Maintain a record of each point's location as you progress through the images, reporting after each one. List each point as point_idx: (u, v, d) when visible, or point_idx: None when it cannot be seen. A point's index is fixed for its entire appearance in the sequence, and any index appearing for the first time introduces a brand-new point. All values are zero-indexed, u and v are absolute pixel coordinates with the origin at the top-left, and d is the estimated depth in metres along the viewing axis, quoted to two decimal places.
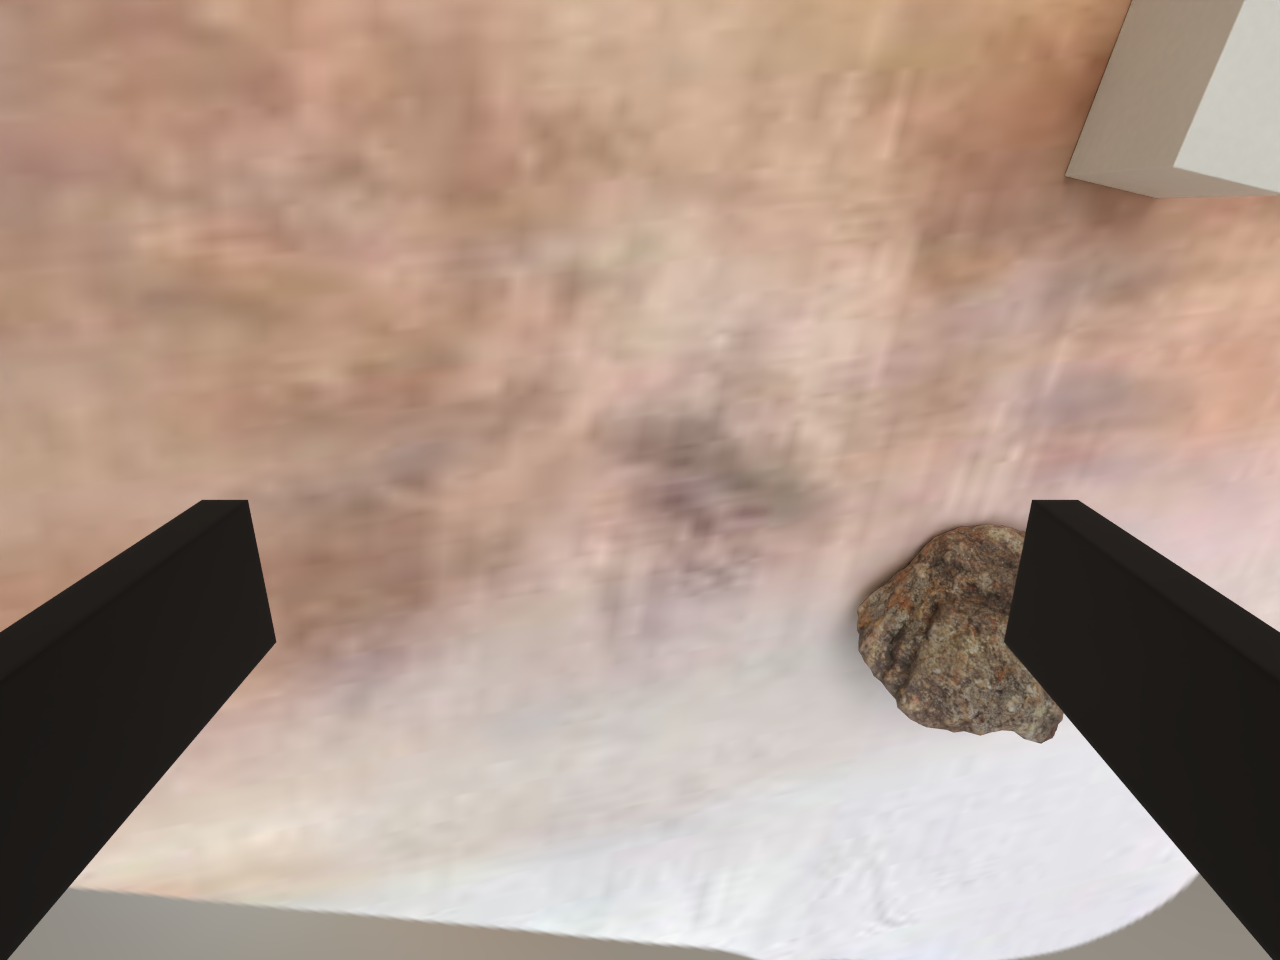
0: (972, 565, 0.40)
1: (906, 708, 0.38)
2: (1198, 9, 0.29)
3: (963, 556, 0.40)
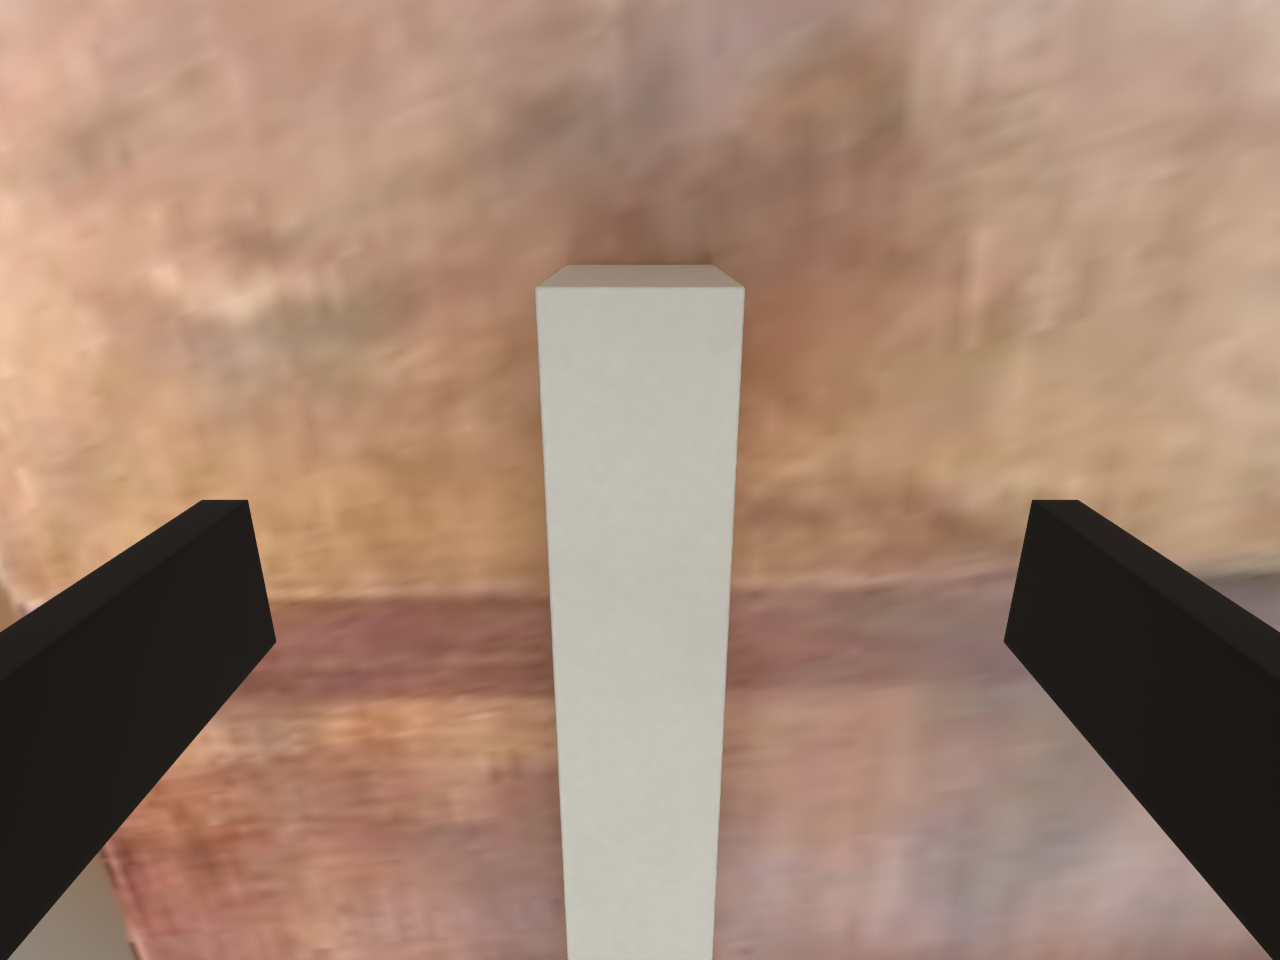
0: None
1: None
2: None
3: None
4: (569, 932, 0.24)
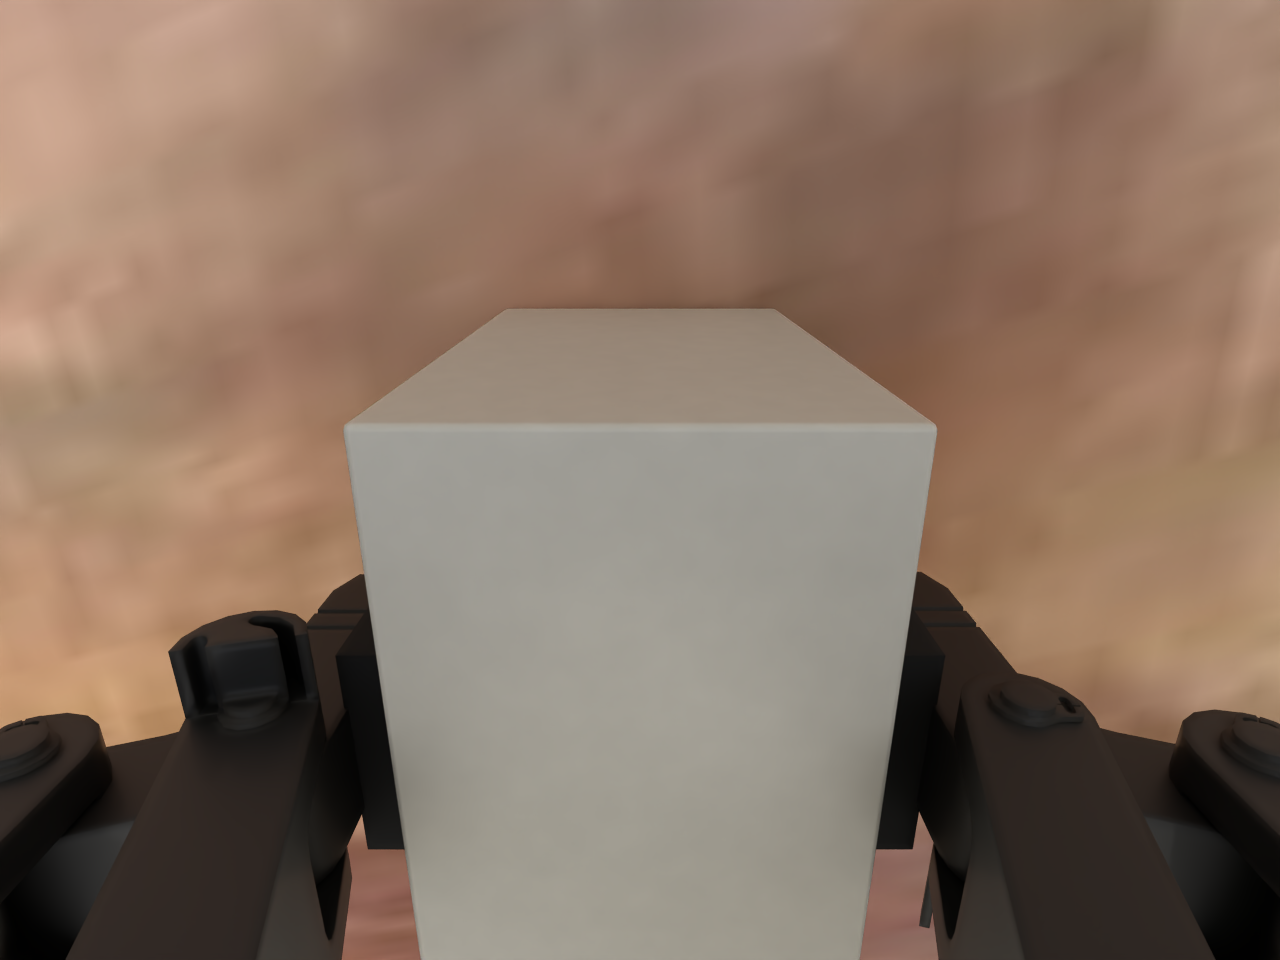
0: None
1: None
2: None
3: None
4: None
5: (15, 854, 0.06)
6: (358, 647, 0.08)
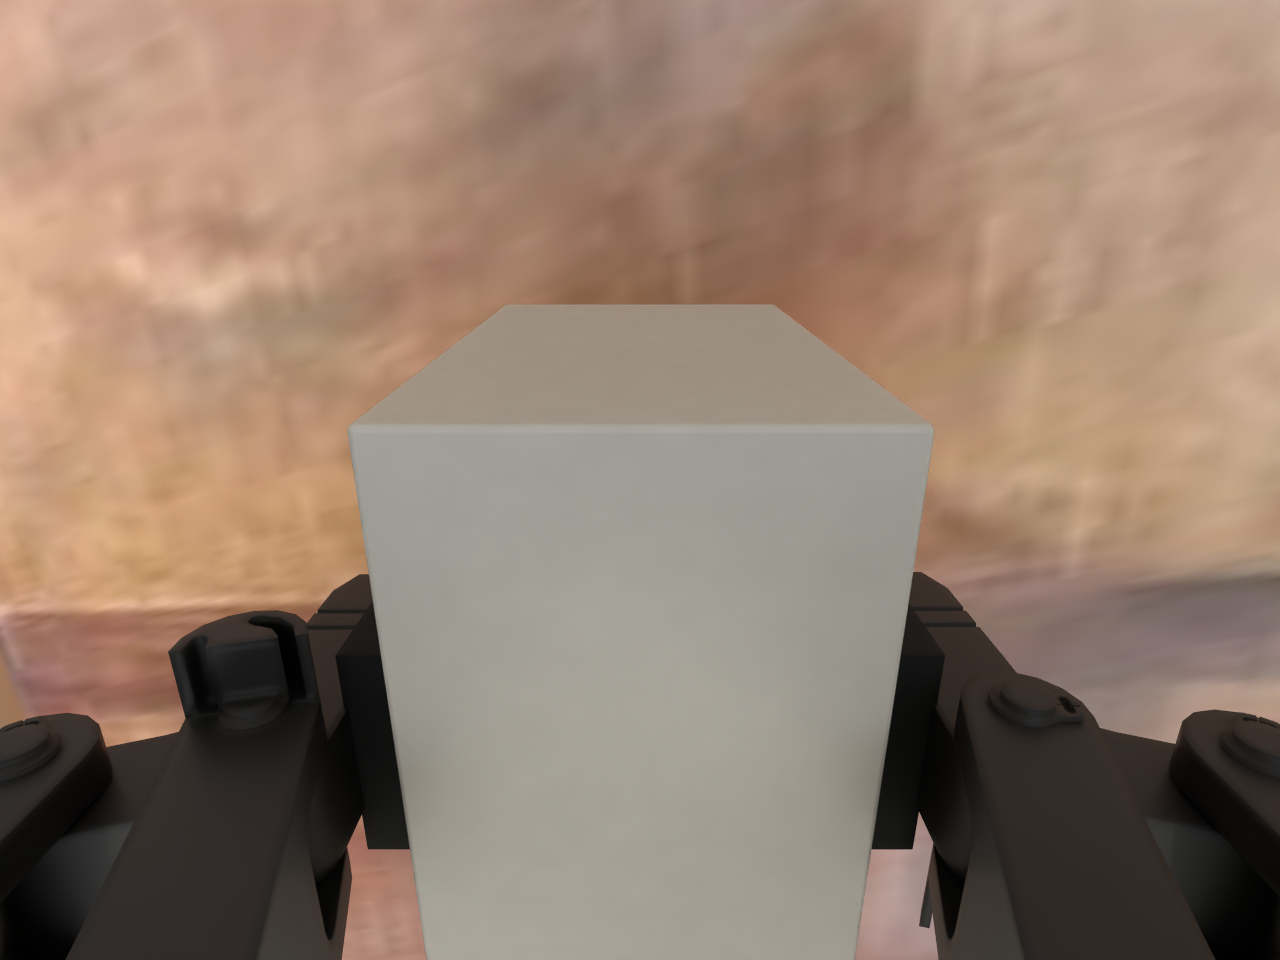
0: None
1: None
2: None
3: None
4: None
5: (15, 854, 0.06)
6: (358, 647, 0.08)
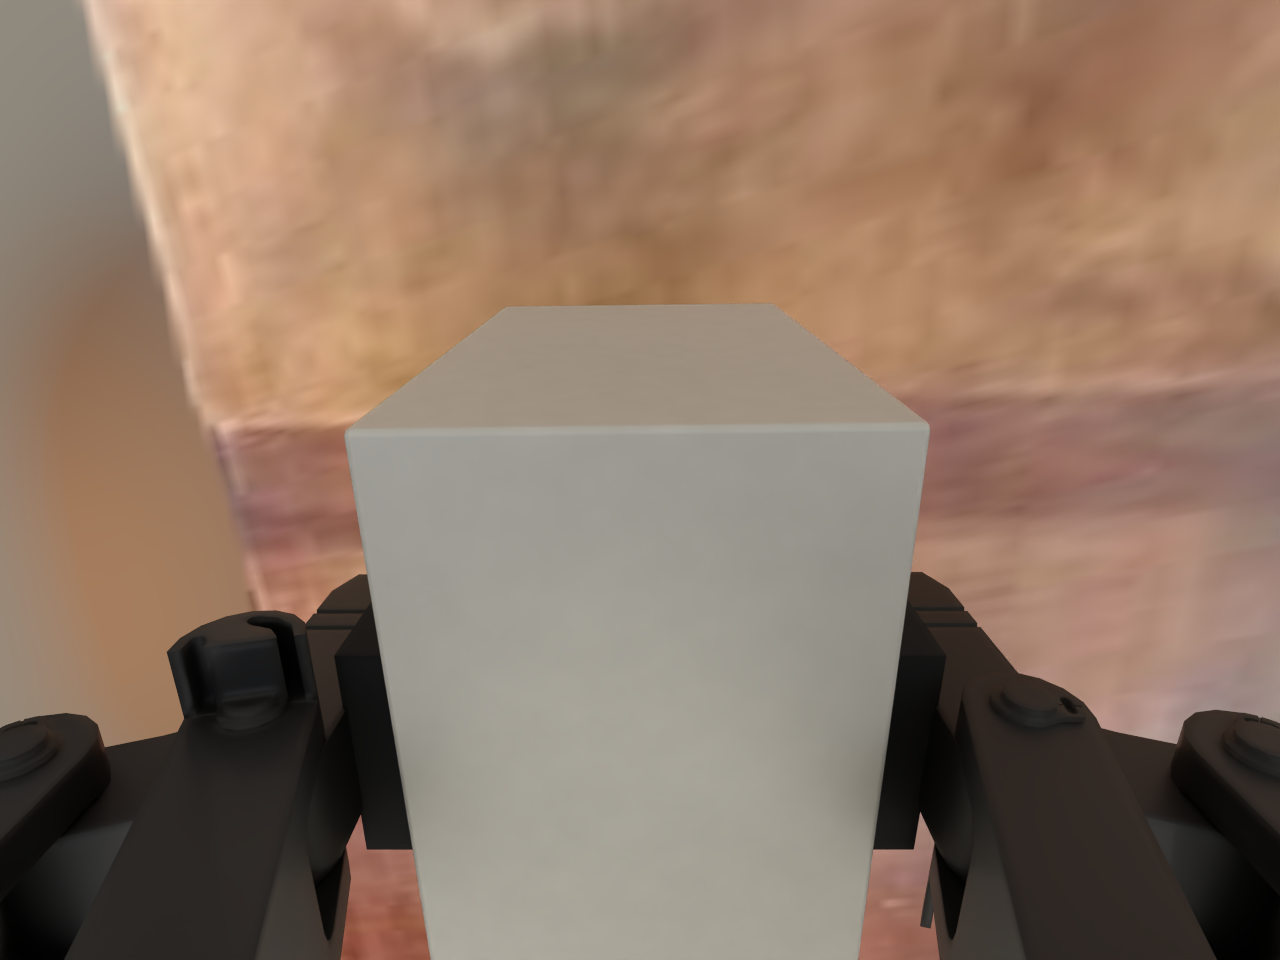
0: None
1: None
2: None
3: None
4: None
5: (14, 854, 0.06)
6: (357, 647, 0.08)
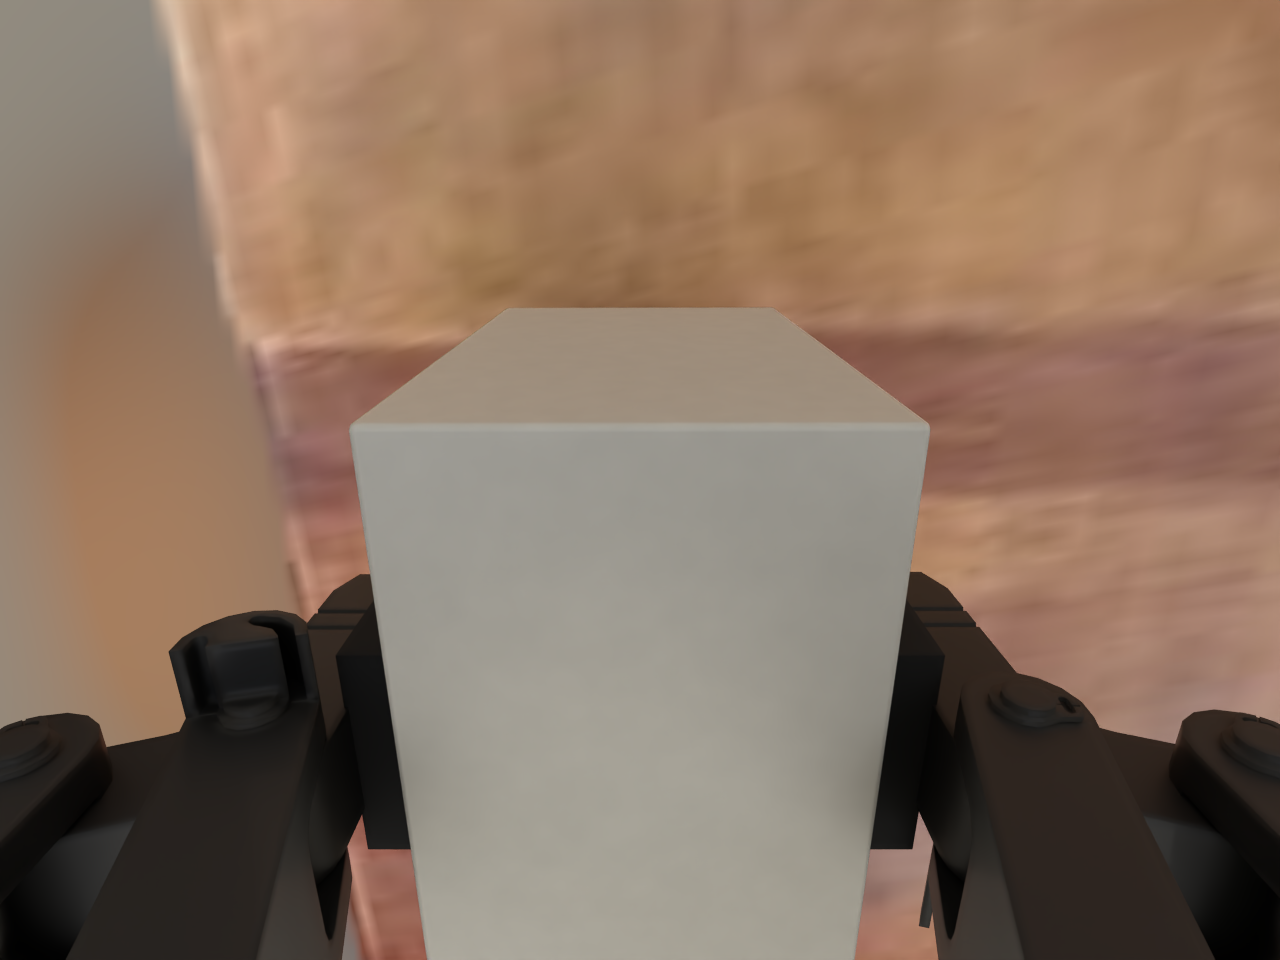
0: None
1: None
2: None
3: None
4: None
5: (15, 854, 0.06)
6: (358, 647, 0.08)
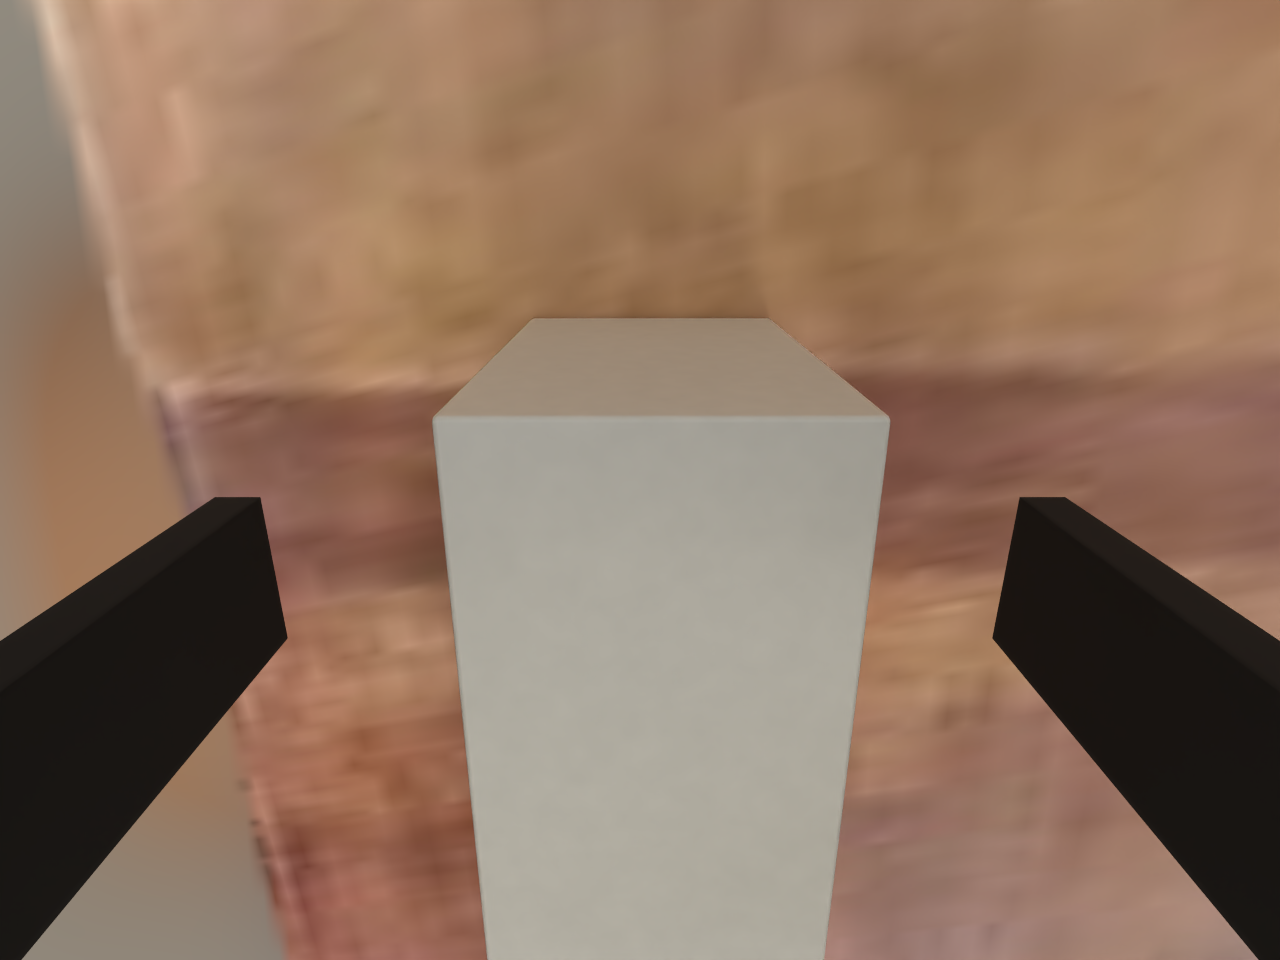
0: None
1: None
2: None
3: None
4: None
5: None
6: None
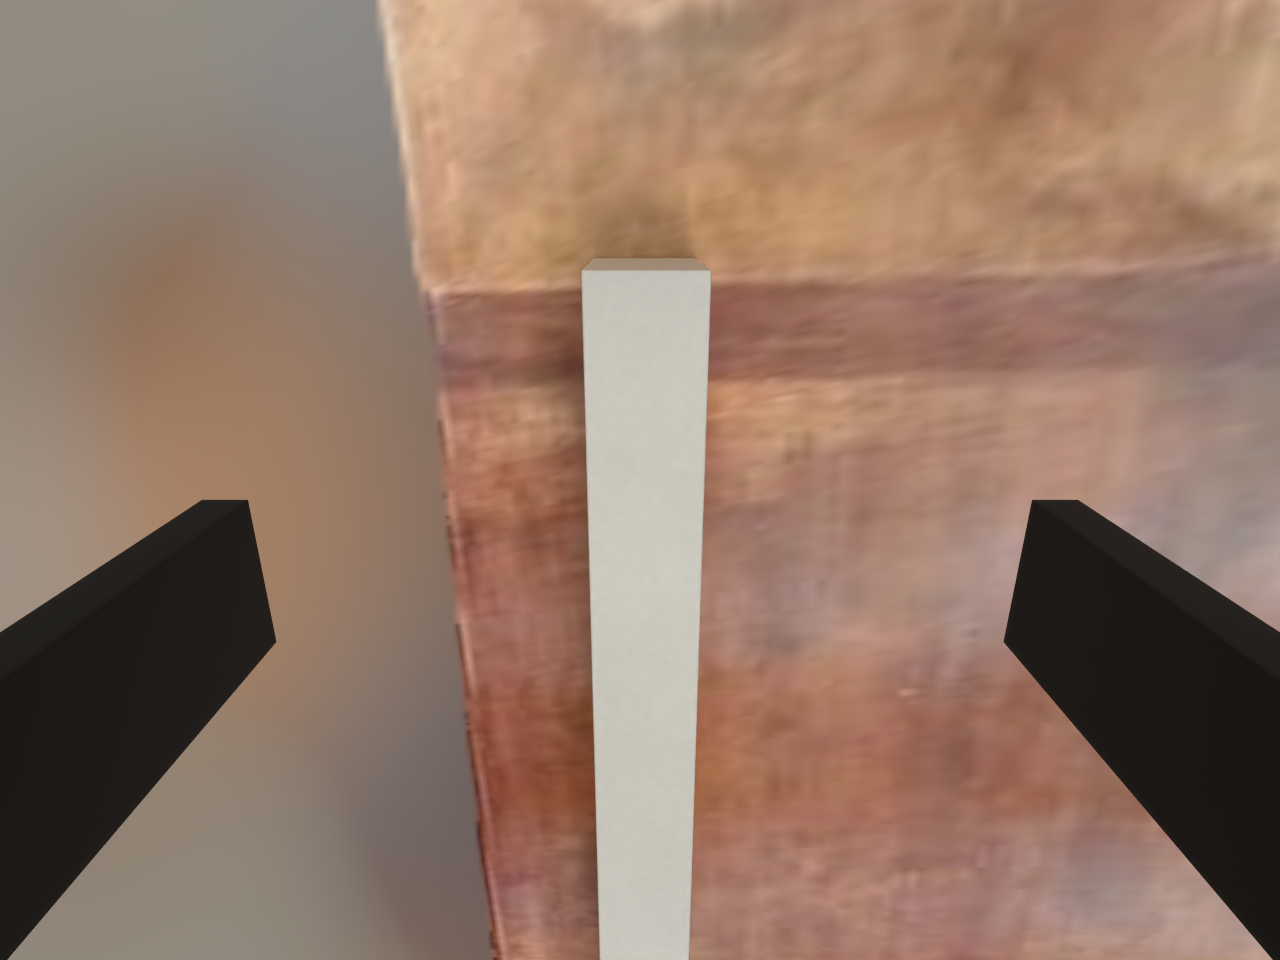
0: None
1: None
2: None
3: None
4: (595, 723, 0.35)
5: None
6: None
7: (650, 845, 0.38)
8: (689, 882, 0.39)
